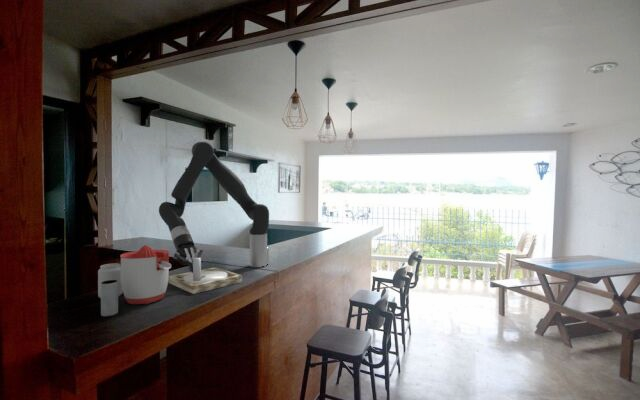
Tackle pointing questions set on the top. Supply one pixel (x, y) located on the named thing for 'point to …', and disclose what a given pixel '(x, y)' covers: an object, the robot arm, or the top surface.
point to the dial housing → (197, 288)
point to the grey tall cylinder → (109, 297)
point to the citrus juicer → (144, 275)
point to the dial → (203, 274)
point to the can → (109, 276)
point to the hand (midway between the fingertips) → (194, 271)
